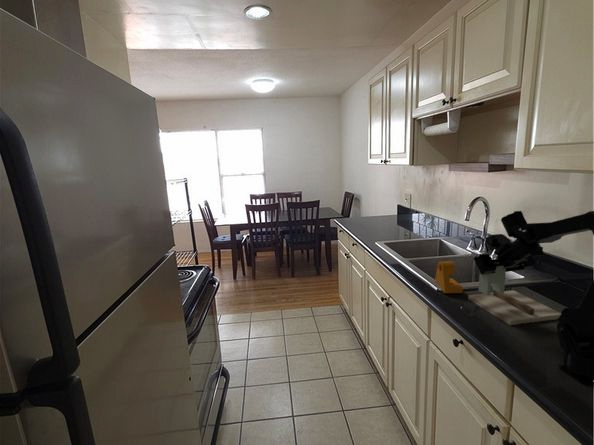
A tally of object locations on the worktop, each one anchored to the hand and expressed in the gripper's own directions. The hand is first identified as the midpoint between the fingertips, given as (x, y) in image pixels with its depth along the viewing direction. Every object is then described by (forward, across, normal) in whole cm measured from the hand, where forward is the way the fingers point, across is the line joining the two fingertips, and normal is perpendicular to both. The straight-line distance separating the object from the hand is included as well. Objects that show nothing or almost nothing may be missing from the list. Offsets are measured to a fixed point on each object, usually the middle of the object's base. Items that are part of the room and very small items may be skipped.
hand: (489, 272), depth 112 cm
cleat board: (+8, -8, +11) cm, 16 cm away
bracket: (+23, +2, -3) cm, 23 cm away
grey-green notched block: (+4, 0, +6) cm, 7 cm away
